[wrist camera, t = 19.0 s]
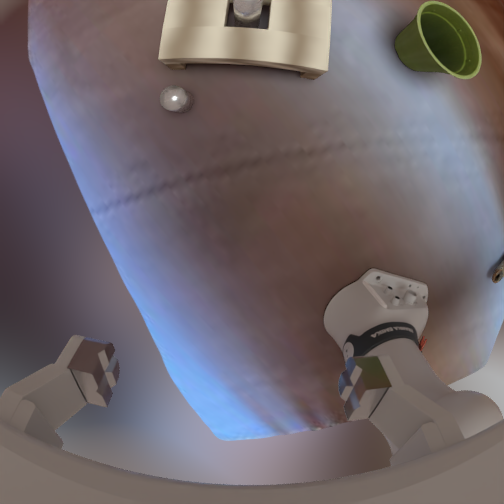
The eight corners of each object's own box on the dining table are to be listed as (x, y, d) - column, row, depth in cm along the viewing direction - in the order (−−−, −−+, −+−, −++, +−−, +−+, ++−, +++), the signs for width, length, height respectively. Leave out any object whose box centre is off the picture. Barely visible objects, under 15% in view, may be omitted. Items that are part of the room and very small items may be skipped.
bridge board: (319, 1, 28) (332, -17, 22) (314, 79, 34) (327, 71, 28) (184, -9, 27) (174, -29, 21) (172, 69, 33) (158, 59, 26)
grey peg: (262, 25, 30) (269, -10, 19) (250, 41, 31) (253, 9, 20) (243, 16, 29) (243, -21, 19) (231, 31, 31) (226, -2, 20)
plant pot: (434, 30, 28) (473, 17, 18) (441, 90, 33) (485, 88, 23) (376, 12, 28) (410, -11, 18) (384, 77, 33) (424, 66, 23)
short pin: (194, 91, 34) (186, 85, 29) (192, 112, 36) (184, 110, 30) (172, 91, 34) (160, 85, 29) (170, 112, 35) (158, 110, 30)
